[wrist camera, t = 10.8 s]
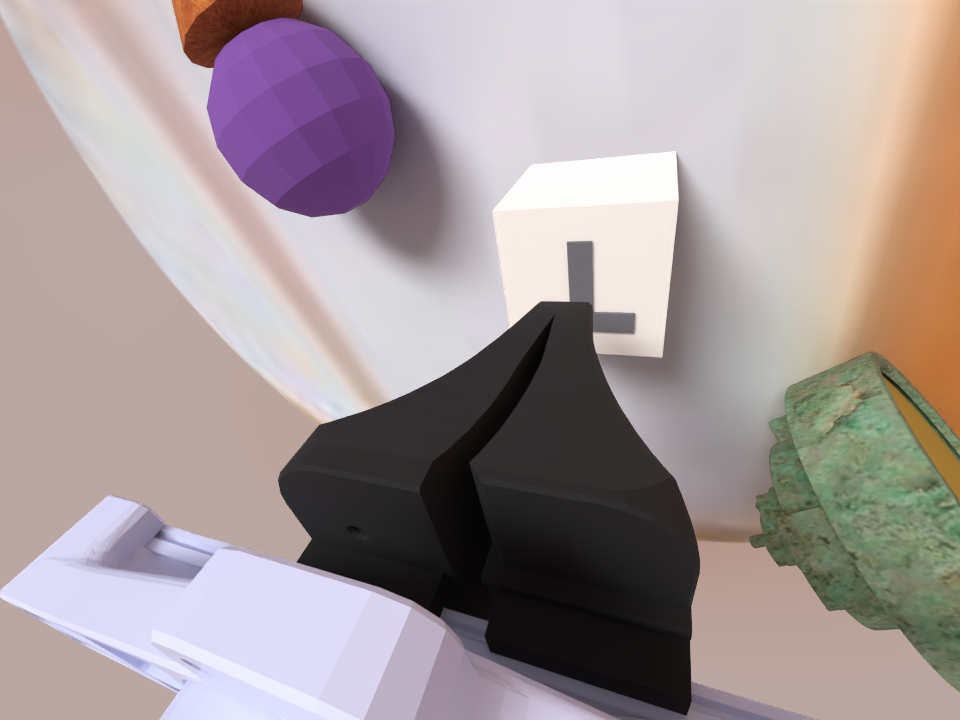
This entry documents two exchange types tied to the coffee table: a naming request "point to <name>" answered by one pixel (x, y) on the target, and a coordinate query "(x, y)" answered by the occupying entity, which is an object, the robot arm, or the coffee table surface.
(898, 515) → the decorative artifact
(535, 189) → the letter cube
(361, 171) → the kendama
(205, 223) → the coffee table surface
